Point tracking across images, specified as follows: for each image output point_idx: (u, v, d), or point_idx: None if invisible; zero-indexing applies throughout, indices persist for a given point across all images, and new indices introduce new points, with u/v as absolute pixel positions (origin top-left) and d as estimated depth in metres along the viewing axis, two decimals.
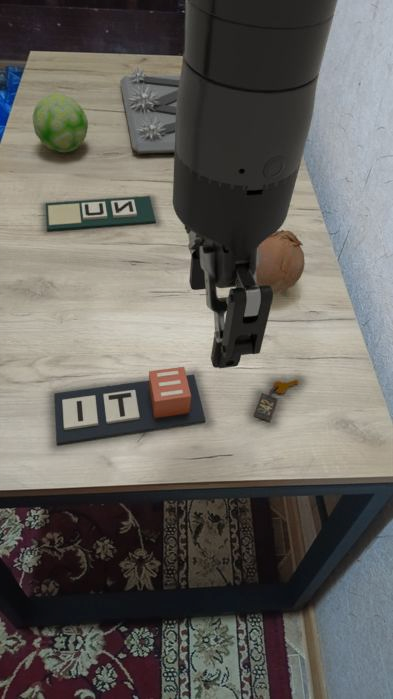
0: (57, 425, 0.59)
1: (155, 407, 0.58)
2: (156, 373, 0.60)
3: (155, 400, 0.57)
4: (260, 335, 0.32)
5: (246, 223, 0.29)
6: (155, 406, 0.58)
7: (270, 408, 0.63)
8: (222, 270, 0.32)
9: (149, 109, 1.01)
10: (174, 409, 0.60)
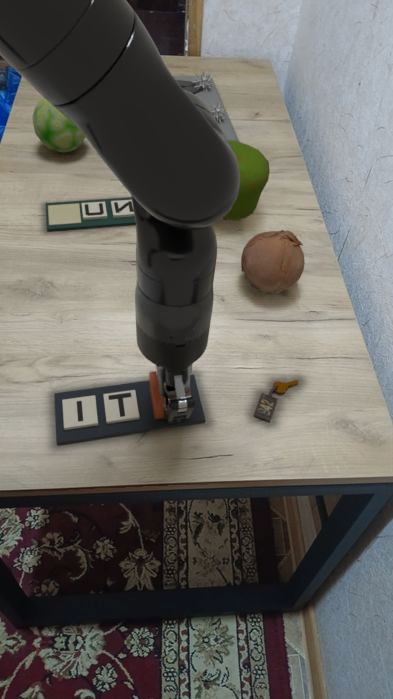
0: (57, 425, 0.59)
1: (155, 408, 0.58)
2: (156, 374, 0.60)
3: (155, 401, 0.57)
4: (188, 414, 0.54)
5: (178, 359, 0.49)
6: (155, 407, 0.58)
7: (270, 408, 0.63)
8: (167, 380, 0.51)
9: None
10: None
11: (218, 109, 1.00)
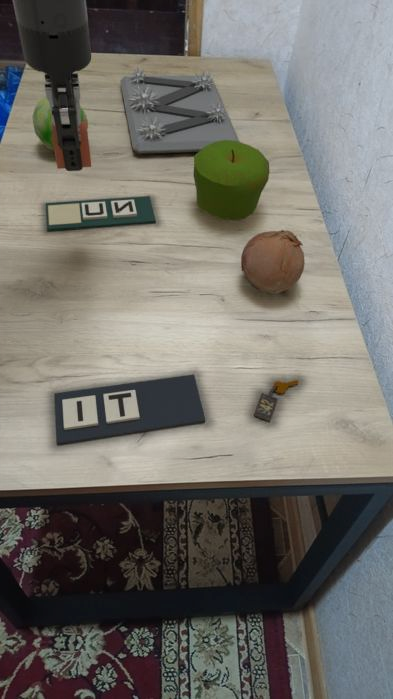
0: (57, 425, 0.59)
1: (55, 150, 0.63)
2: None
3: (53, 139, 0.62)
4: (76, 136, 0.58)
5: (55, 58, 0.53)
6: (55, 148, 0.63)
7: (270, 408, 0.63)
8: (52, 93, 0.56)
9: (149, 109, 1.01)
10: None
11: (218, 109, 1.00)
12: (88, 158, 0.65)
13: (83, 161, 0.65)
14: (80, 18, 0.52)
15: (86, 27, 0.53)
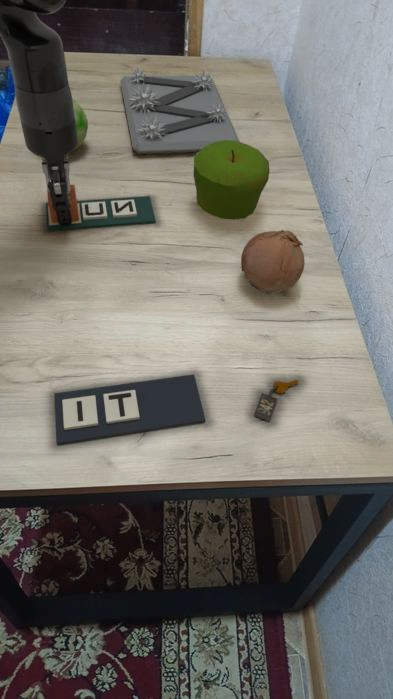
0: (57, 425, 0.59)
1: (50, 209, 0.79)
2: None
3: (48, 201, 0.78)
4: (66, 202, 0.74)
5: (50, 147, 0.69)
6: (49, 208, 0.79)
7: (270, 408, 0.63)
8: (47, 170, 0.72)
9: (149, 109, 1.01)
10: None
11: (218, 109, 1.00)
12: (76, 214, 0.81)
13: (72, 216, 0.81)
14: (69, 118, 0.68)
15: (73, 122, 0.70)
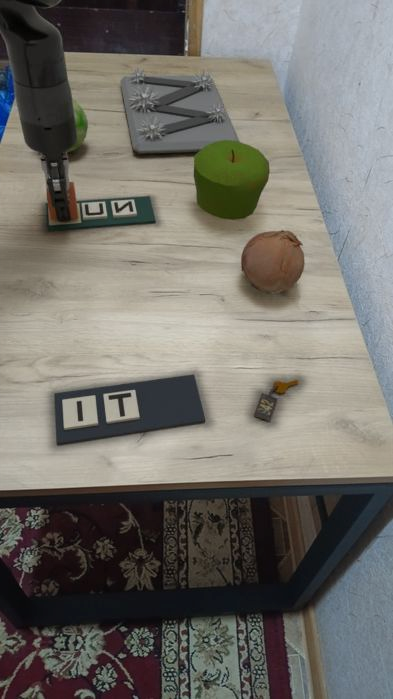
0: (57, 425, 0.59)
1: (49, 206, 0.79)
2: None
3: (47, 198, 0.78)
4: (65, 198, 0.74)
5: (49, 143, 0.69)
6: (48, 205, 0.78)
7: (270, 408, 0.63)
8: (46, 167, 0.72)
9: (149, 109, 1.01)
10: None
11: (218, 109, 1.00)
12: (75, 211, 0.80)
13: (71, 214, 0.80)
14: (68, 114, 0.68)
15: (72, 118, 0.69)
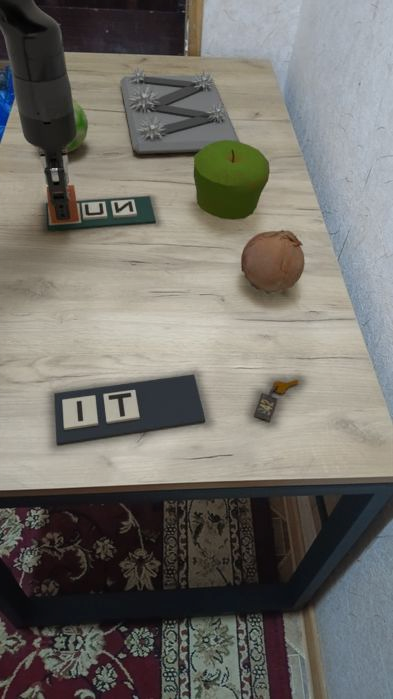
0: (57, 425, 0.59)
1: (50, 210, 0.79)
2: None
3: (48, 202, 0.78)
4: (64, 192, 0.72)
5: (48, 137, 0.68)
6: (49, 209, 0.79)
7: (270, 408, 0.63)
8: (46, 162, 0.71)
9: (149, 109, 1.01)
10: None
11: (218, 109, 1.00)
12: (76, 215, 0.81)
13: (72, 217, 0.81)
14: (67, 108, 0.67)
15: (72, 113, 0.69)
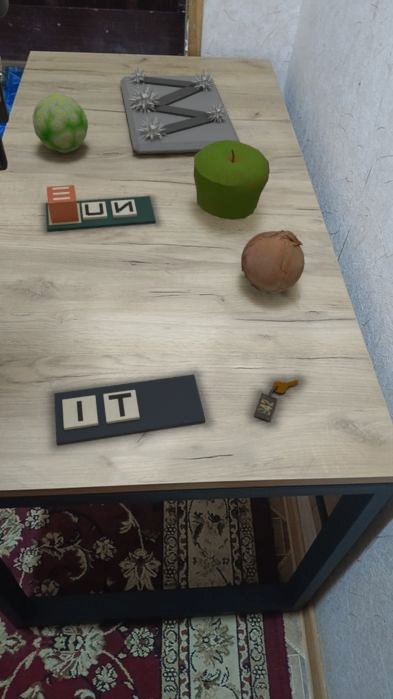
0: (57, 425, 0.59)
1: (50, 210, 0.79)
2: (52, 187, 0.80)
3: (48, 202, 0.78)
4: None
5: None
6: (49, 209, 0.79)
7: (270, 408, 0.63)
8: None
9: (149, 109, 1.01)
10: (65, 214, 0.80)
11: (218, 109, 1.00)
12: (76, 215, 0.81)
13: (72, 217, 0.81)
14: None
15: None
